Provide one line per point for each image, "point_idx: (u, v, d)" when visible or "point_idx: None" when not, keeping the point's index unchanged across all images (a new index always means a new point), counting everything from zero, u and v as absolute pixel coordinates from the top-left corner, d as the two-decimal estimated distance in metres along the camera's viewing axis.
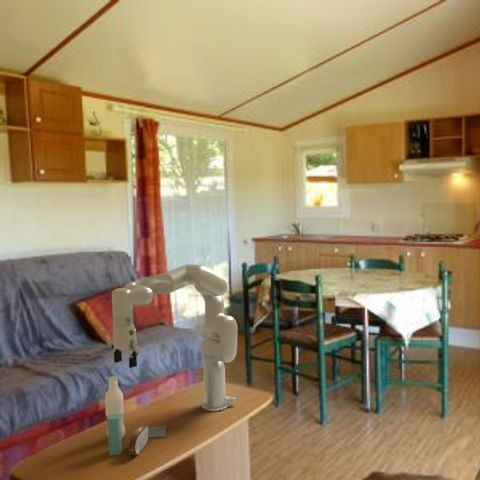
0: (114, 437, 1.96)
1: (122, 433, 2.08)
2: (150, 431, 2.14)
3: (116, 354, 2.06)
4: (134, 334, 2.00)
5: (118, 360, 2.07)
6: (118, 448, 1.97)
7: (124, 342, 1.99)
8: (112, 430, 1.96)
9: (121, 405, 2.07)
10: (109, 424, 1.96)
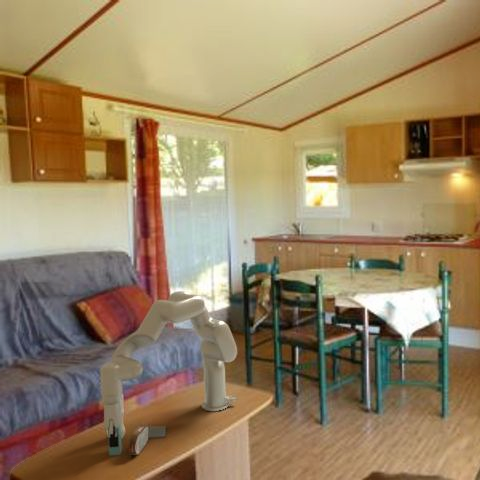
0: None
1: (122, 433, 2.08)
2: (150, 431, 2.14)
3: None
4: None
5: None
6: (118, 448, 1.97)
7: None
8: None
9: (121, 405, 2.07)
10: None
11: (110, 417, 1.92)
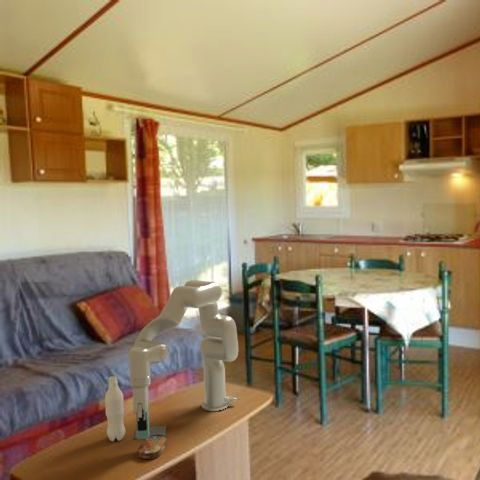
0: None
1: (122, 433, 2.08)
2: (150, 431, 2.14)
3: None
4: None
5: None
6: (146, 432, 1.97)
7: None
8: None
9: (121, 405, 2.07)
10: None
11: (139, 400, 1.93)
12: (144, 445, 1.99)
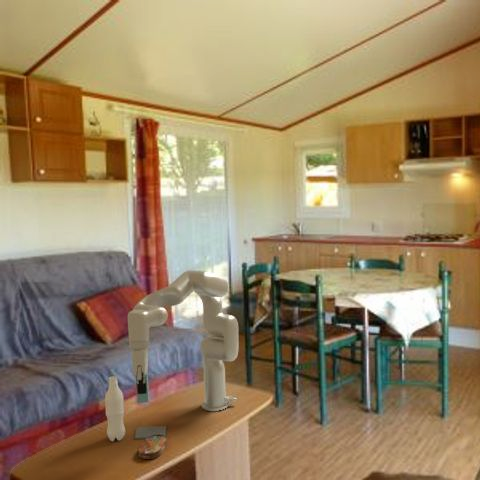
0: None
1: (122, 433, 2.08)
2: (150, 431, 2.14)
3: None
4: None
5: None
6: (146, 395, 1.96)
7: None
8: None
9: (121, 405, 2.07)
10: None
11: (138, 363, 1.92)
12: (144, 445, 1.99)
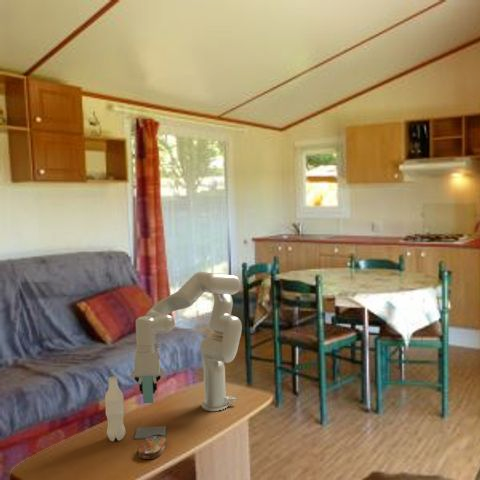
0: None
1: (122, 433, 2.08)
2: (150, 431, 2.14)
3: None
4: (159, 358, 2.12)
5: None
6: (143, 396, 2.10)
7: (155, 367, 2.09)
8: None
9: (121, 405, 2.07)
10: None
11: None
12: (144, 445, 1.99)
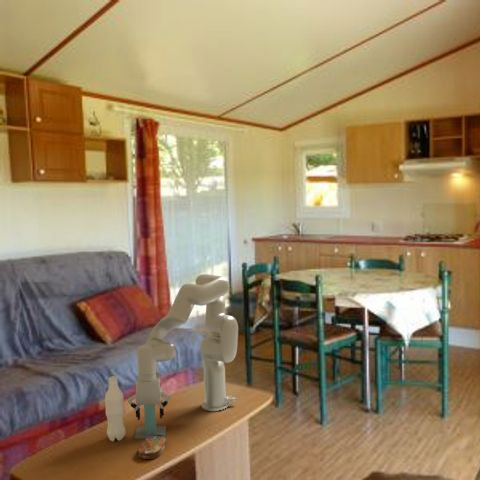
0: None
1: (122, 433, 2.08)
2: None
3: (139, 411, 2.12)
4: None
5: (139, 417, 2.13)
6: (145, 427, 2.12)
7: (156, 395, 2.10)
8: None
9: (121, 405, 2.07)
10: None
11: None
12: (144, 445, 1.99)
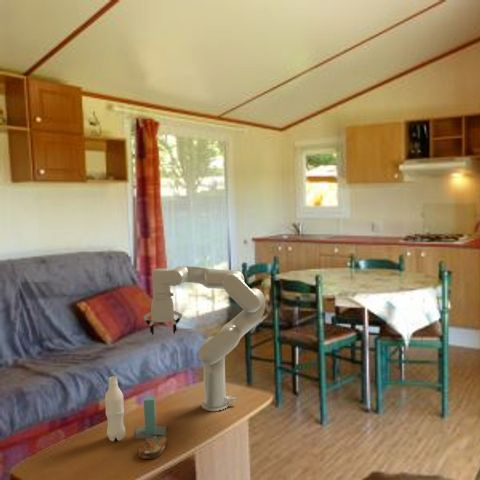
0: None
1: (122, 433, 2.08)
2: None
3: (153, 327, 2.37)
4: None
5: (153, 332, 2.38)
6: (145, 427, 2.12)
7: (169, 313, 2.36)
8: None
9: (121, 405, 2.07)
10: None
11: None
12: (144, 445, 1.99)
